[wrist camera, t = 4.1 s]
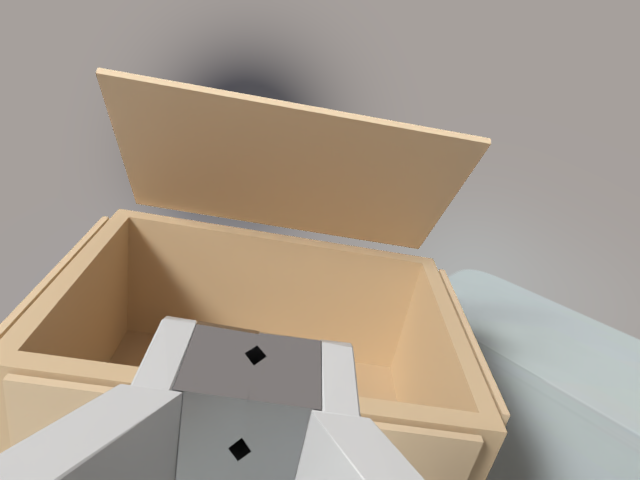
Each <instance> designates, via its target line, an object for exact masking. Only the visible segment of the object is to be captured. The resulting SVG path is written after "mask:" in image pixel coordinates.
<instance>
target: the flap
mask: <svg viewBox="0 0 640 480" xmlns="http://www.w3.org/2000/svg"><path fill="white" fill-rule="evenodd" d="M96 76H97V79H98V82H99V85H100V89H101V92H102V95H103V98H104V102H105V105H106V108H107V111H108V114H109V117H110V121H111V124H112V127H113V130H114V134H115V137H116V140H117V143H118V146H119V149H120V153H121V156H122V159H123V162H124V166H125V169H126V172H127V175H128V178H129V182H130V185H131V188H132V191H133V194H134V197H135V201H136V204H141V205H148V206H154V207H160V208H166V209H172V210H179V211H185V212H191V213H197V214H204V215H210V216H216V217H223V218H229V219H235V220H241V221H247V222H253V223H260V224H266V225H272V226H278V227H285V228H291V229H297V230H303V231H310V232H316V233H323V234H329V235H334V236H341V237H347V238H354V239H359V240H366V241H372V242H378V243H384V244H391V245H397V246H404V247H409V248H416V249H419V248H420V246H421V245H422V243H423V242H424V240H425V239H426V237H427V236H428V235H429V233H430V232H431V230H432V229H433V227H434V226H435V224H436V223H437V221H438V220H439V219H440V217H441V216H442V214H443V213H444V211H445V210H446V208H447V207H448V206H449V204H450V203H451V201H452V200H453V198H454V197H455V195H456V194H457V193H458V191H459V190H460V188H461V187H462V185H463V184H464V182H465V181H466V180H467V178H468V177H469V175H470V174H471V172H472V171H473V169H474V168H475V167H476V165H477V164H478V162H479V161H480V159H481V158H482V156H483V155H484V153H485V152H486V151H487V149H488V148H489V146H490V145H491V139H490V138H485V137H480V136H474V135H469V134H463V133H458V132H452V131H447V130H441V129H436V128H430V127H424V126H419V125H413V124H408V123H402V122H396V121H391V120H386V119H380V118H375V117H369V116H364V115H358V114H353V113H347V112H341V111H336V110H331V109H325V108H320V107H314V106H308V105H303V104H297V103H291V102H286V101H281V100H275V99H270V98H264V97H258V96H253V95H248V94H242V93H237V92H231V91H225V90H220V89H214V88H209V87H203V86H198V85H192V84H187V83H181V82H175V81H170V80H164V79H159V78H153V77H148V76H142V75H137V74H131V73H126V72H120V71H115V70H109V69H104V68H98V69H97V71H96Z"/></svg>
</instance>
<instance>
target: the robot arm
mask: <svg viewBox="0 0 640 480" xmlns="http://www.w3.org/2000/svg"><path fill="white" fill-rule="evenodd" d="M0 480H425V479H424V478H423V477H422V476H421V475H420V474H419V473H418V471H417V470H416V469H415V468H414V467H413V466H412V465H411V464H410V462H409V461H408V460H407V459H406V458H405V457H404V456H403V455H402V453H401V452H400V451H399V450H398V449H397V448H396V447H395V445H394V444H393V443H392V442H391V441H390V440H389V439H388V438H387V436H386V435H385V434H384V433H383V432H382V431H381V430H380V429H379V427H378V426H377V425H376V424H375V423H374V422H373V421H372V419H371V418H366V417H361V414H360V405H359V396H358V387H357V378H356V369H355V360H354V351H353V346H352V345H351V343H347V342H338V341H330V340H314V339H307V338H300V337H293V336H286V335H279V334H272V333H265V332H260V331H256V330H250V329H244V328H238V327H232V326H227V325H221V324H215V323H209V322H203V321H198V322H197V321H196V320H191V319H184V318H177V317H171V316H166V317H165V318H164V319H162V320H161V322H160V324H159V326H158V329H157V331H156V333H155V335H154V337H153V339H152V341H151V343H150V345H149V347H148V349H147V352H146V354H145V356H144V358H143V360H142V362H141V364H140V366H139V368H138V370H137V372H136V375H135V377H134V379H133V381H132V383H131V385H126V384H119V385H117V386H115V387H114V388H112V389H110V390H109V391H107V392H105V393H103V394H102V395H100V396H98V397H96V398H95V399H93V400H91V401H90V402H88V403H86V404H84V405H83V406H81V407H79V408H78V409H76V410H74V411H72V412H71V413H69V414H67V415H65V416H64V417H62V418H60V419H59V420H57V421H55V422H53V423H52V424H50V425H48V426H47V427H45V428H43V429H41V430H40V431H38V432H36V433H34V434H33V435H31V436H29V437H28V438H26V439H24V440H22V441H21V442H19V443H17V444H15V445H14V446H12V447H10V448H9V449H7V450H5V451H3V452H2V453H0Z"/></svg>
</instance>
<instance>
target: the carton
mask: <svg viewBox="0 0 640 480" xmlns="http://www.w3.org/2000/svg"><path fill="white" fill-rule="evenodd" d="M166 316H171V317H177V318H184V319H191V320H196V321H197V322H198V321H203V322H209V323H215V324H221V325H227V326H232V327H238V328H244V329H250V330H256V331H260V332H265V333H272V334H279V335H286V336H293V337H300V338H307V339H314V340H330V341H338V342H347V343H351V345H352V346H353V351H354V360H355V369H356V378H357V387H358V396H359V405H360V414H361V417H366V418H371V419H372V421H373V422H374V423H375V424H376V425H377V426H378V427H379V429H380V430H381V431H382V432H383V433H384V434H385V435H386V436H387V438H388V439H389V440H390V441H391V442H392V443H393V444H394V445H395V447H396V448H397V449H398V450H399V451H400V452H401V453H402V455H403V456H404V457H405V458H406V459H407V460H408V461H409V462H410V464H411V465H412V466H413V467H414V468H415V469H416V470H417V471H418V473H419V474H420V475H421V476H422V477H423V478H424V479H425V480H486V478H487V476H488V473H489V471H490V469H491V467H492V465H493V463H494V461H495V458H496V456H497V454H498V452H499V450H500V448H501V446H502V443H503V441H504V439H505V437H506V435H507V430H506V428H505V426H506V424H507V422H508V420H509V417H510V413H509V411H508V409H507V407H506V404H505V402H504V400H503V398H502V396H501V393H500V391H499V389H498V387H497V385H496V382H495V380H494V378H493V376H492V374H491V371H490V369H489V367H488V365H487V362H486V360H485V358H484V356H483V354H482V351H481V349H480V347H479V345H478V343H477V340H476V338H475V336H474V334H473V332H472V329H471V327H470V325H469V323H468V321H467V318H466V316H465V314H464V312H463V310H462V307H461V305H460V303H459V301H458V298H457V296H456V294H455V292H454V290H453V287H452V285H451V283H450V281H449V279H448V276H447V274H446V272H445V270H441V269H439V272H438V269H437V267H436V265H435V262H434V260H433V259H431V258H425V257H419V256H413V255H406V254H400V253H393V252H387V251H380V250H375V249H368V248H362V247H356V246H350V245H343V244H337V243H330V242H324V241H318V240H312V239H305V238H300V237H293V236H287V235H281V234H274V233H268V232H262V231H256V230H249V229H243V228H237V227H230V226H224V225H217V224H212V223H205V222H199V221H193V220H187V219H180V218H174V217H167V216H161V215H155V214H149V213H142V212H136V211H130V210H123V209H118V211H117V212H116V213H115V214H114V215H113V216H112V217H111V218H110V219H109V218H108V217H105V216H103V217H102V218H101V219H100V220H99V221H98V222H97V223H96V224H95V225H94V226H93V227H92V228H91V229H90V231H88V233H87V234H86V235H85V236H84V237H83V238H82V239H81V240H80V241H79V242H78V243H77V244H76V245H75V247H73V248H72V249H71V251H69V253H68V254H67V255H66V256H65V257H64V258H63V259H62V260H61V261H60V262H59V263H58V264H57V265H56V266H55V267H54V268H53V269H52V270H51V271H50V272H49V274H48V275H47V276H46V277H45V278H44V279H43V280H42V281H41V282H40V283H39V284H38V285H37V286H36V287H35V288H34V289H33V290H32V291H31V292H30V293H29V295H28V296H27V297H26V298H25V299H24V300H23V301H22V302H21V303H20V304H19V305H18V306H17V307H16V308H15V309H14V310H13V312H11V314H10V315H9V316H8V317H7V318H6V319H5V320H4V321H3V322H2V323H1V324H0V453H2V452H3V451H5V450H7V449H9V448H10V447H12V446H14V445H15V444H17V443H19V442H21V441H22V440H24V439H26V438H28V437H29V436H31V435H33V434H34V433H36V432H38V431H40V430H41V429H43V428H45V427H47V426H48V425H50V424H52V423H53V422H55V421H57V420H59V419H60V418H62V417H64V416H65V415H67V414H69V413H71V412H72V411H74V410H76V409H78V408H79V407H81V406H83V405H84V404H86V403H88V402H90V401H91V400H93V399H95V398H96V397H98V396H100V395H102V394H103V393H105V392H107V391H109V390H110V389H112V388H114V387H115V386H117V385H119V384H126V385H131V383H132V381H133V379H134V377H135V375H136V372H137V370H138V368H139V366H140V364H141V362H142V360H143V358H144V356H145V354H146V352H147V349H148V347H149V345H150V343H151V341H152V339H153V337H154V335H155V333H156V331H157V329H158V326H159V324H160V322H161V320H162V319H164V318H165V317H166Z"/></svg>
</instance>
